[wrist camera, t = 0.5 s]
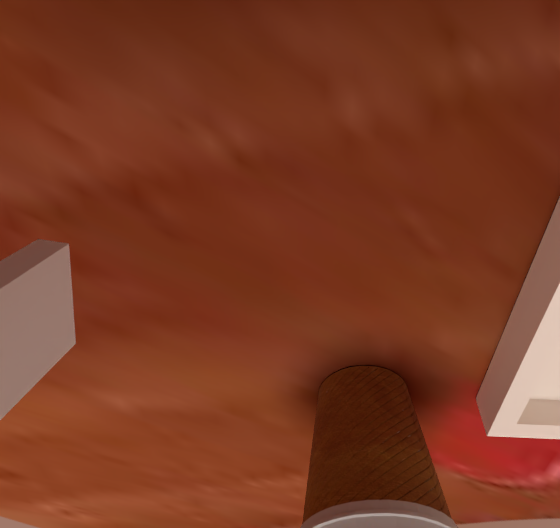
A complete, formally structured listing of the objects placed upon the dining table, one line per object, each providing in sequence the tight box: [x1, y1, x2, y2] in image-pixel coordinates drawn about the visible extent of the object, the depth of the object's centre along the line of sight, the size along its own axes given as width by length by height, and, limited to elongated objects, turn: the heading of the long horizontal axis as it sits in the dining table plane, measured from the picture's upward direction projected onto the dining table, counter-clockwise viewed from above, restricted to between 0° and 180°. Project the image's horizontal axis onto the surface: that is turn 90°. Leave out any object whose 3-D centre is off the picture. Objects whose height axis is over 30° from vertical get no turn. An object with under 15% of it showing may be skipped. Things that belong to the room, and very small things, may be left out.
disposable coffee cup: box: [300, 366, 458, 528], centre depth 33 cm, size 10×10×12 cm
